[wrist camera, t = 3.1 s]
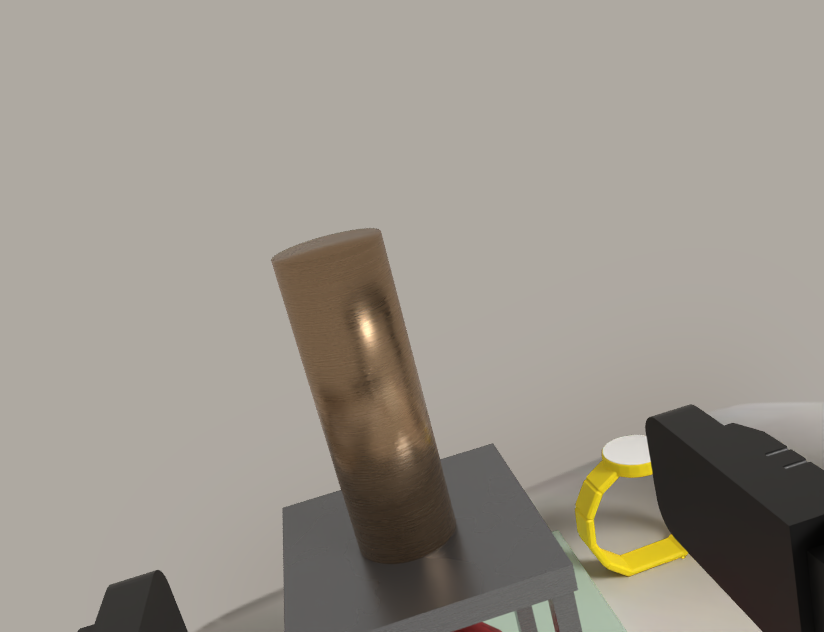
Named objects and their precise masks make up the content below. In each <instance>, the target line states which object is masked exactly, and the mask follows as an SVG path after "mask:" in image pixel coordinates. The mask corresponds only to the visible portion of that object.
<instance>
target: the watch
mask: <svg viewBox="0 0 824 632" xmlns="http://www.w3.org/2000/svg"><path fill="white" fill-rule="evenodd" d="M651 474H653V472H652V467H651V461H650V455H649V449H648V443H647V437H646V435H628V436H623V437H619V438H616V439H614V440H612V441H610V442H609V443H607V444H606V445H605V446H604V448H603V449H602V461H601V462H600V463H599V464H598V465H597V466H596V467H595V468H594V469H593V470H592V471H591V472H590V474H589V475H588V476H587V477H586V480H584V482H583V485H582V487H581V490H580V493H579V496H578V498H577V501H576V504H575V505H576V508H575V515H576V523H577V531H578V533H579V536H580V537H581V539H582V540H583V541H584V542H585V544H586V545H587V546H588V547H589V549H590V550H591V551H592V552H593V554H594V555H595V556H596V557H597V559H598V560H599V561H600V562H601V564H602V565H603V566H604V567H606V568H607V569H608V570H611V571H614V572H617V573H620V574H622V575H625V576H628V577H629V576H631V575H634V574H637V573H639V572H642V571H645V570H648V569H650V568H653V567H656V566H658V565H661V564H664V563H668V562H670V561H673V560H676V559H678V558H682V559H683V558H685V557H684V556H687V554H688V552H687V551H686V550H685V549H684V548H683V547H682V546H681V544H680V543H679V542H678V541H677V540H676V539H675V538H674V537H673V535H672V534H670V536H669V537H668V538H666V539H663V540H660V541H658V542H655V543H652V544H650V545H647V546H644V547H641V548H639V549H636V550H633V551H631V552H628V553H625V554H622V555H617V554H614V553H612V552H609V551H606V550H604V549H601V548H599V546H598V545H597V544H596V535H595V527H594V520H593V519H594V517H595V514H596V512H597V509H598V506H599V504H600V501H601V498H602V495H603V494H604V492H605V491H606V490H607V489H608V488H609V487H610V486H611V485H612V484H613V483H614V482H615V481H616V480H617V479H618V478H619V477H628V478H635V477H644V476H648V475H651Z"/></svg>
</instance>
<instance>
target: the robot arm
mask: <svg viewBox="0 0 824 632" xmlns="http://www.w3.org/2000/svg"><path fill="white" fill-rule="evenodd" d="M645 428H646V437H647V443H648V449H649V455H650V461H651V467H652V472H653V478H654V484H655V490H656V496H657V501H658V505H659V509H660V512H661V515H662V517H663V519H664V522H665V524H666V526H667V527H668V529H669V531H670V533H671V534H672V535H673V537H674V538H675V539H676V540H677V541H678V542H679V543H680V544H681V546H682V547H683V548H684V549H685V550H686V551H687V552H688V553H689V554H690V555H691V556H692V557H693V558H694V559H695V560H696V561H697V563H698V564H699V565H700V566H701V567H702V568H703V569H704V570H705V571H706V572H707V573H708V574H709V575H710V576H711V577H712V578H713V579H714V581H715V582H716V583H717V584H718V585H719V586H720V587H721V588H722V589H723V590H724V591H725V592H726V593H727V594H728V595H729V596H730V597H731V599H732V600H733V601H734V602H735V603H736V604H737V605H738V606H739V607H740V608H741V609H742V610H743V611H744V612H745V613H746V614H747V615H748V617H749V618H750V619H751V620H752V621H753V622H754V623H755V624H756V625H757V626H758V627H759V628H760V629H761V630H762V631H763V632H824V470H822V469H821V468H819V467H818V466H816V465H815V464H813V463H812V462H808V463H807V461H806V459H805V458H804V457H802V456H801V455H799V454H798V453H796V452H795V451H793V450H788V449H787V446H785V445H784V444H782V443H781V442H779V441H778V440H776V439H775V438H773V437H771V436H770V435H768V434H767V433H765V432H763V431H760V430H756V429H753V428H749V427H746V426H742V425H739V424H735V423H731V424H728V425H725V426H724V425H722V424H721V423H719V422H718V421H717V420H715V419H714V418H712V417H711V416H709V415H708V414H706V413H705V412H704V411H702V410H700V409H699V408H698V407H696V406H694V405H687V406H684V407H681V408H677V409H674V410H672V411H668V412H665V413H662V414H658V415H655V416H652V417H649V418H648V419H647V421H646V426H645ZM78 632H187V629H186V626H185V624H184V621H183V619H182V616H181V614H180V611H179V609H178V606H177V604H176V601H175V599H174V596H173V594H172V591H171V588H170V586H169V584H168V581H167V579H166V578H165V576H164V574H163V573H162V572H161V571H159V570H156V571H153V572H150V573H146V574H143V575H140V576H137V577H134V578H130V579H127V580H124V581H121V582H118V583H115V584H111V585H109V587H108V588H107V590H106V593H105V595H104V598H103V601H102V604H101V607H100V610H99V613H98V616H97V618H96V621H95V624H94V625H91V626H87V627H84V628H81V629H79V630H78Z"/></svg>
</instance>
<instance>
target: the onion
mask: <svg viewBox="0 0 824 632" xmlns="http://www.w3.org/2000/svg"><path fill="white" fill-rule="evenodd" d="M453 632H502V631H501V630H499V629H497V628H495V627H493V626H491V625H488V624H486V623H484V622H480V623H477V624H474V625H471V626H468V627H465V628H462V629H459V630H456V631H453Z"/></svg>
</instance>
